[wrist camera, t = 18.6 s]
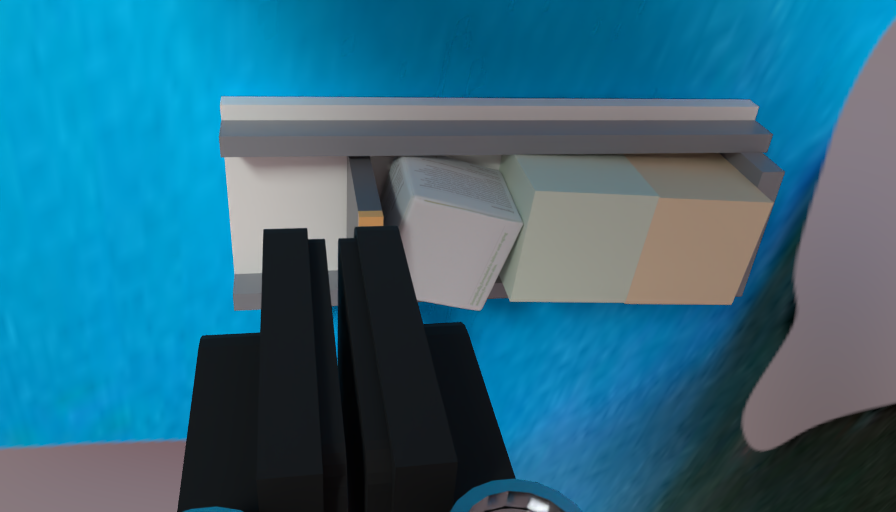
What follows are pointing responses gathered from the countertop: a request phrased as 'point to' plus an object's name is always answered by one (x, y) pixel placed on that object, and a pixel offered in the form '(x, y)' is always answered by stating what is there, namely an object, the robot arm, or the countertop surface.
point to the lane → (442, 153)
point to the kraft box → (696, 229)
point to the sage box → (575, 227)
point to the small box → (451, 226)
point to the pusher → (362, 195)
